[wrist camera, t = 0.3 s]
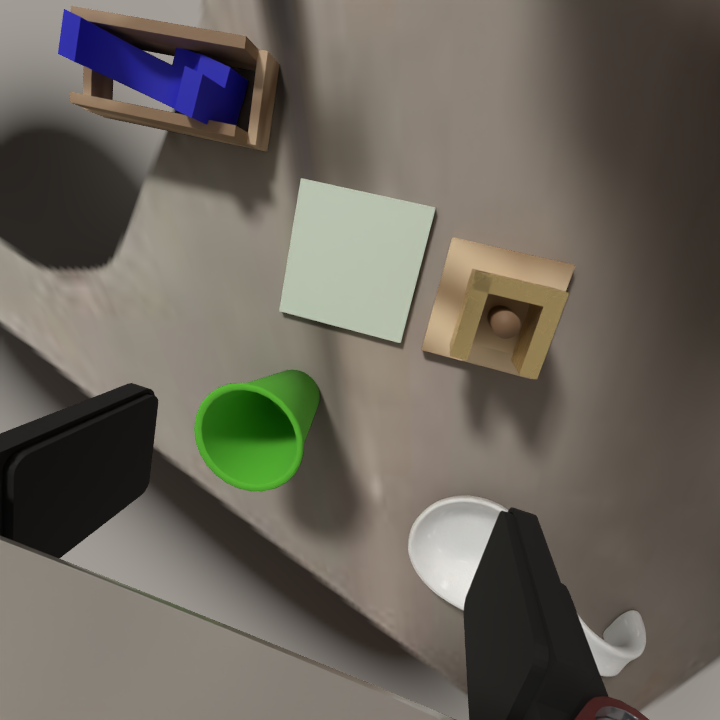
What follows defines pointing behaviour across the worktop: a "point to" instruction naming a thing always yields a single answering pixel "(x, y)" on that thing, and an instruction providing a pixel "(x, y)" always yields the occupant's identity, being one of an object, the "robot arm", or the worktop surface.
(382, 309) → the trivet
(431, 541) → the spoon rest
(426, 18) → the worktop surface
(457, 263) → the peg stand
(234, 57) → the clip holder
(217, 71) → the blue stepped block
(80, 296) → the worktop surface
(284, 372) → the cup
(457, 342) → the c link
